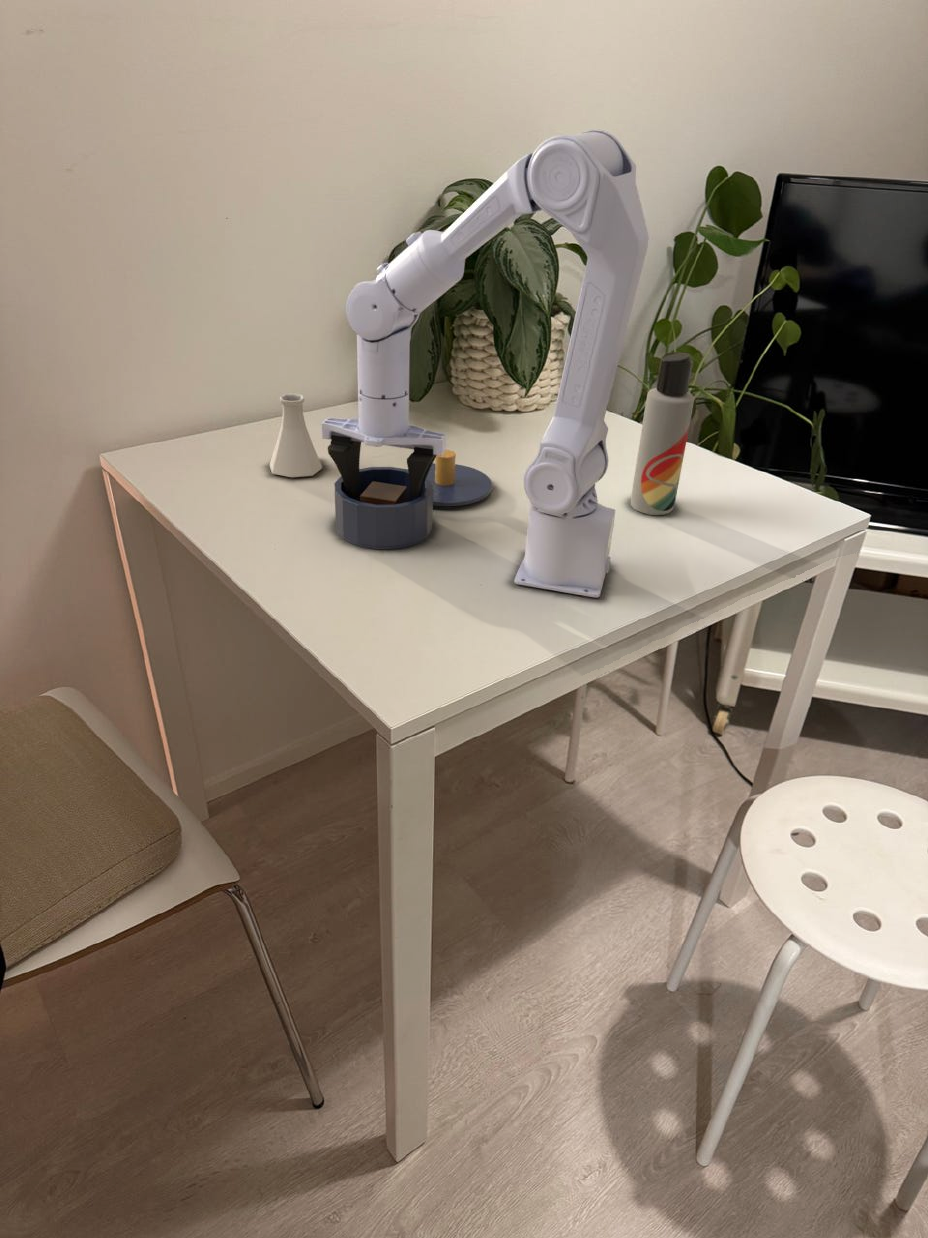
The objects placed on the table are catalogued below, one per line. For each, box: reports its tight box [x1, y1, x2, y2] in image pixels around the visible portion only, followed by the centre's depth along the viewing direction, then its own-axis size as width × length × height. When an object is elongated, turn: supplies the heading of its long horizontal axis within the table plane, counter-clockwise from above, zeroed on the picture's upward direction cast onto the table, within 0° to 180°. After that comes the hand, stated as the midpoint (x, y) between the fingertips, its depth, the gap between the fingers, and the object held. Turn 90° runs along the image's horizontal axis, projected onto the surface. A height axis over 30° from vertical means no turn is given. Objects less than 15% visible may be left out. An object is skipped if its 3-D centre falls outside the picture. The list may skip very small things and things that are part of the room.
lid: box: [426, 449, 493, 507], centre depth 119 cm, size 13×13×5 cm
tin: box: [333, 466, 434, 550], centre depth 109 cm, size 12×12×5 cm
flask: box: [269, 393, 323, 478], centre depth 121 cm, size 7×7×10 cm
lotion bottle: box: [630, 352, 695, 516], centre depth 113 cm, size 6×6×20 cm
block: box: [360, 481, 407, 505], centre depth 109 cm, size 4×4×4 cm
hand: (384, 501), depth 109 cm, fingers open, 7 cm apart
